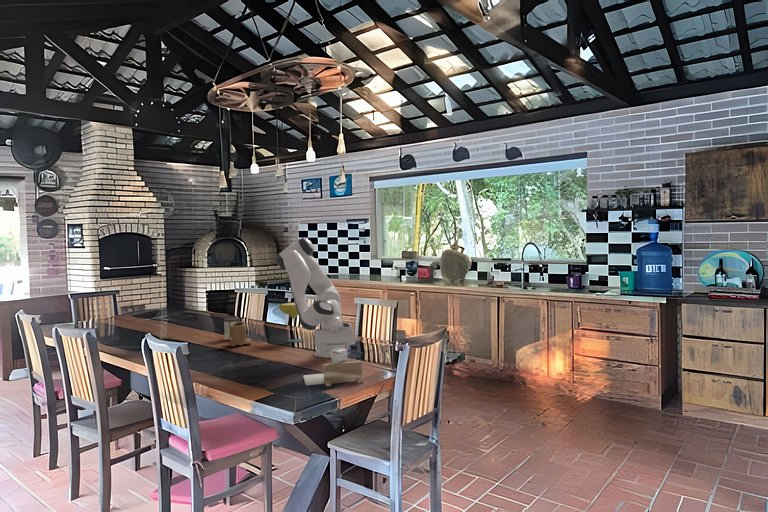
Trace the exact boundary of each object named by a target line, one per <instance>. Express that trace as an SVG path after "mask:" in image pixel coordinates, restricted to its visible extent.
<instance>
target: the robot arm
mask: <svg viewBox="0 0 768 512" xmlns="http://www.w3.org/2000/svg"><path fill="white" fill-rule="evenodd" d="M314 251H315V248H314V245H313V243H312V241H311V240H310V239H308V238H307V237H301V238H299V239H298V240H297V241H295V242H294V241H293V243H291V244H289V245H288V246H287V247H286V248H285V249H283V250H282V251H281V252H280V251H279V252H278V254H277V255H276V257H275V262H276V263H277V266H278V267H279V268H280V269H281V270H283V271H286V273H287V274H288V277H289V281H290V290H291V295H292V298H293V299H292V300H293V302H295V305H296V308H297V311H298V314H299V315H298V320H299V324H300V325H301V327H302V328H304V329H305V330H308V331H313V337H314V346H315V347H317V349H316V352H315V354H314V357H317V356H318V358H327V359H328V358H330V359H331V350H334V349H337V348H343V349H346V350H347V355H348V354H349V353H348V348H349V346H351V345H355V344H356V334H355V332H354V330H353V328H352V327H353V326H352V324H351V323H348V322H343V320H342V309H341V294H340V293H339V291H338V290H337V288H336V286H335V284H333V283H332V281H331V280H330V278H329V277H328V275H327V274H326V272H325V271H324V269H323V268H322V266H320V264H319V263H318V261H317V260H316V259H315V257H314V255H313V253H314ZM308 285H309V286H310V288H311V289H312V290H313V291H314V293H315V295H316V296H317V297H318V299H316V300H315V301H313V302H312V303H311V304H310V305H308V302H307V301H308V300H307V299H306V290H307V287H308ZM319 325H320V329H319V328H317V327H319Z"/></svg>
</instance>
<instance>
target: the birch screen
mask: <svg viewBox="0 0 768 512" xmlns="http://www.w3.org/2000/svg"><path fill="white" fill-rule="evenodd" d="M322 367H323V374H324V384H323V385H325V386H326V387H330V386H332V384H341V383H351V382H353V383H354V382H357V383H358V384H360V383H361V382H363V383H364V379H363V362H362V360H358V361H357V360H356V361H347V362H344V363H332V364H331V363H324V364H323V365H322Z"/></svg>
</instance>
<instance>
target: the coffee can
mask: <svg viewBox="0 0 768 512" xmlns="http://www.w3.org/2000/svg"><path fill="white" fill-rule="evenodd" d="M236 322H241V321H240V317H227V318H224V319H223V327H224V329H223V330H224V340H225V339H232V337H231V335H230V330H229V328H230V325H231V324H232V323H236Z"/></svg>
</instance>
